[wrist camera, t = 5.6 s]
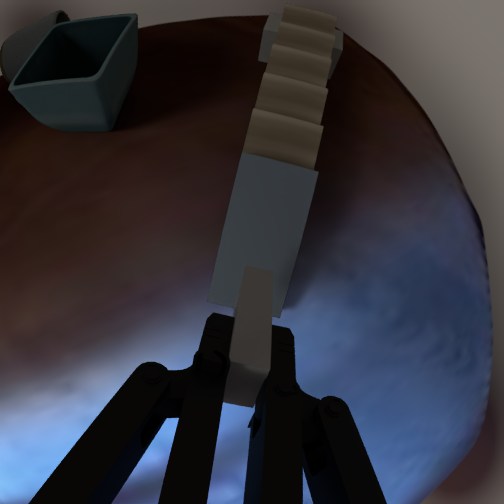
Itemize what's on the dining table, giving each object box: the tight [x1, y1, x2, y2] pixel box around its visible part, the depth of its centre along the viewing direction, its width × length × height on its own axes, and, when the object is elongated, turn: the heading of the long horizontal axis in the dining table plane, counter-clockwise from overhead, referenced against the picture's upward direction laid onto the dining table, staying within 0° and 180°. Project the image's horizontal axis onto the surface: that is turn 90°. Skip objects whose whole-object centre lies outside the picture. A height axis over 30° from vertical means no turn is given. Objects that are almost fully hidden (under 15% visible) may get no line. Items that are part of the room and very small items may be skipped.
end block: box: [258, 13, 343, 79], centre depth 28 cm, size 4×8×4 cm, turn 78°
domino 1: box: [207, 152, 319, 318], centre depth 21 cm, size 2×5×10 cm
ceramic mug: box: [0, 10, 70, 104], centre depth 23 cm, size 11×8×8 cm
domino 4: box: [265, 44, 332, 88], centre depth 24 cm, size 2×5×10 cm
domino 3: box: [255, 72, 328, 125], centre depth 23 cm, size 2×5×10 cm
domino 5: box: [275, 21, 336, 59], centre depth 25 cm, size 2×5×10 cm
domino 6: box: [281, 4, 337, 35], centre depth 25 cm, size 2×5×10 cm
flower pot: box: [8, 14, 138, 132], centre depth 22 cm, size 9×9×9 cm
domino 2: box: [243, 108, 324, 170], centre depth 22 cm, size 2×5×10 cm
